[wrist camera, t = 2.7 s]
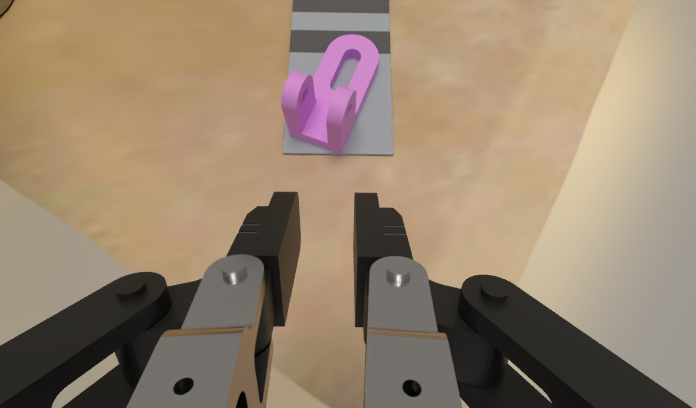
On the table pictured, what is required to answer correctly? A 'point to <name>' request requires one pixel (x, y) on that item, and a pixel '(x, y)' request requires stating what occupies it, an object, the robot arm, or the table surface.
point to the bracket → (330, 94)
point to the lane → (345, 67)
